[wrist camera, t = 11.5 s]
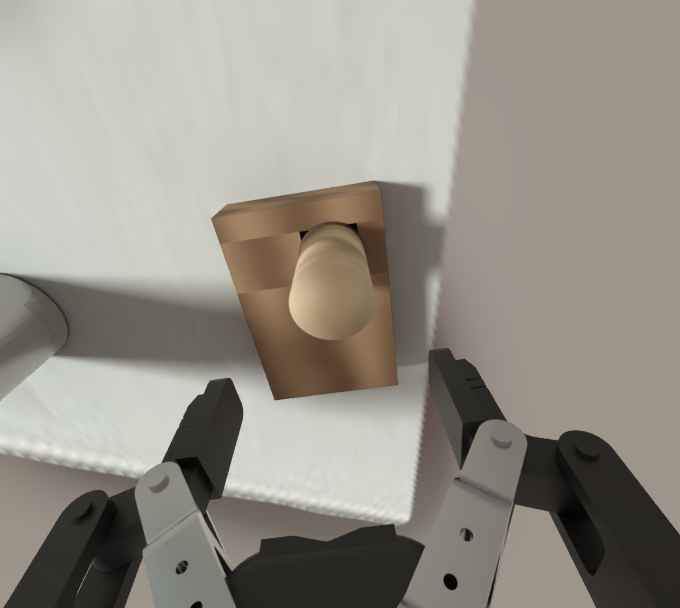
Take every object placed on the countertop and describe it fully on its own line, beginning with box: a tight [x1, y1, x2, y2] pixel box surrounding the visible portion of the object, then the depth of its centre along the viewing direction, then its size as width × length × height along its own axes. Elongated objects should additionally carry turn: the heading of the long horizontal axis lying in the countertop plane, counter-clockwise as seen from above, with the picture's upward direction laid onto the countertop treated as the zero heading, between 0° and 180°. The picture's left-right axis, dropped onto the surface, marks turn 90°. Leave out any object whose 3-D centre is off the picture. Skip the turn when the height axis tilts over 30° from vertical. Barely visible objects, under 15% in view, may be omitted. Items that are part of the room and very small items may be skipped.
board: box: [211, 181, 398, 400], centre depth 29 cm, size 12×18×4 cm, turn 9°
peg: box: [289, 222, 376, 340], centre depth 23 cm, size 5×5×11 cm
